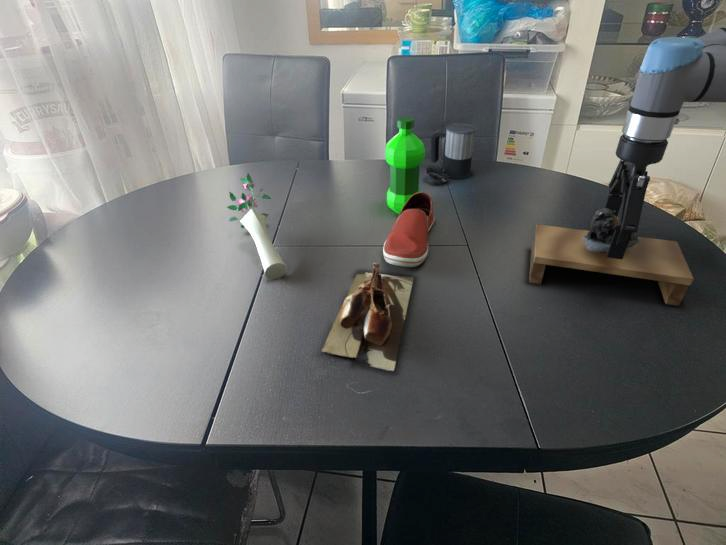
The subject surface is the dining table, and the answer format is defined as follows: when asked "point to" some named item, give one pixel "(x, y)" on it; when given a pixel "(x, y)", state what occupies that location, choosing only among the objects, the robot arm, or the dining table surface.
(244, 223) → the flower vase
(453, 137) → the milk frother
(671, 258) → the oak shelf
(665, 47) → the robot arm
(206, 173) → the dining table surface
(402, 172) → the plastic bottle
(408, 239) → the slip on shoe
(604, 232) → the bison figurine
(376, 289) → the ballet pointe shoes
